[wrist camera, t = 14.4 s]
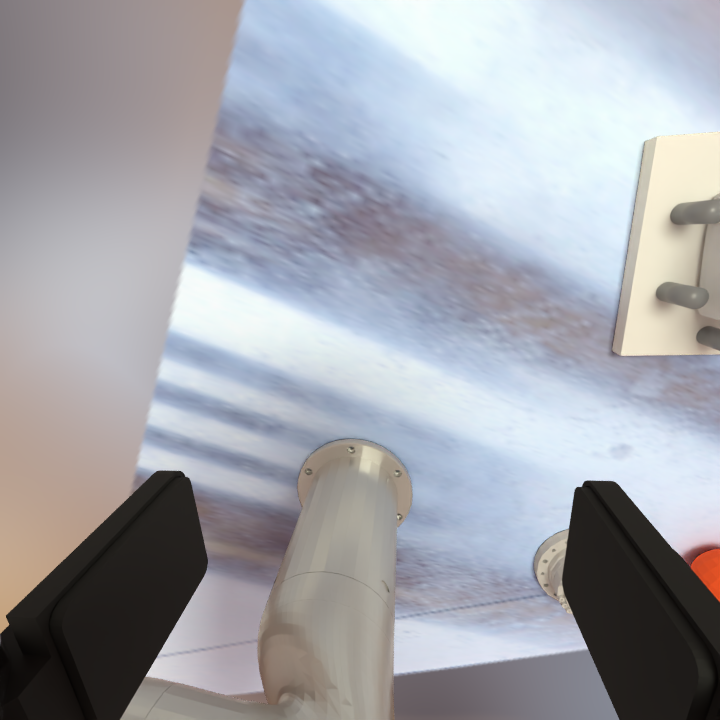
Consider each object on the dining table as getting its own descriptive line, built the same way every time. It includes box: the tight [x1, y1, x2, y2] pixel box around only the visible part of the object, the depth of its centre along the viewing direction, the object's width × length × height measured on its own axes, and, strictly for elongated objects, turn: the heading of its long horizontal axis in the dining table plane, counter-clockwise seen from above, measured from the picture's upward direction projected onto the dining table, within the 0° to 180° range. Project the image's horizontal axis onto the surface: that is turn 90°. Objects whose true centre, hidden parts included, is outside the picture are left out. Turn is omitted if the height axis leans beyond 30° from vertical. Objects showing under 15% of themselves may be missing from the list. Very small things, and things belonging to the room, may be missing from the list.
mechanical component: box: [534, 529, 573, 614], centre depth 41 cm, size 10×4×10 cm
